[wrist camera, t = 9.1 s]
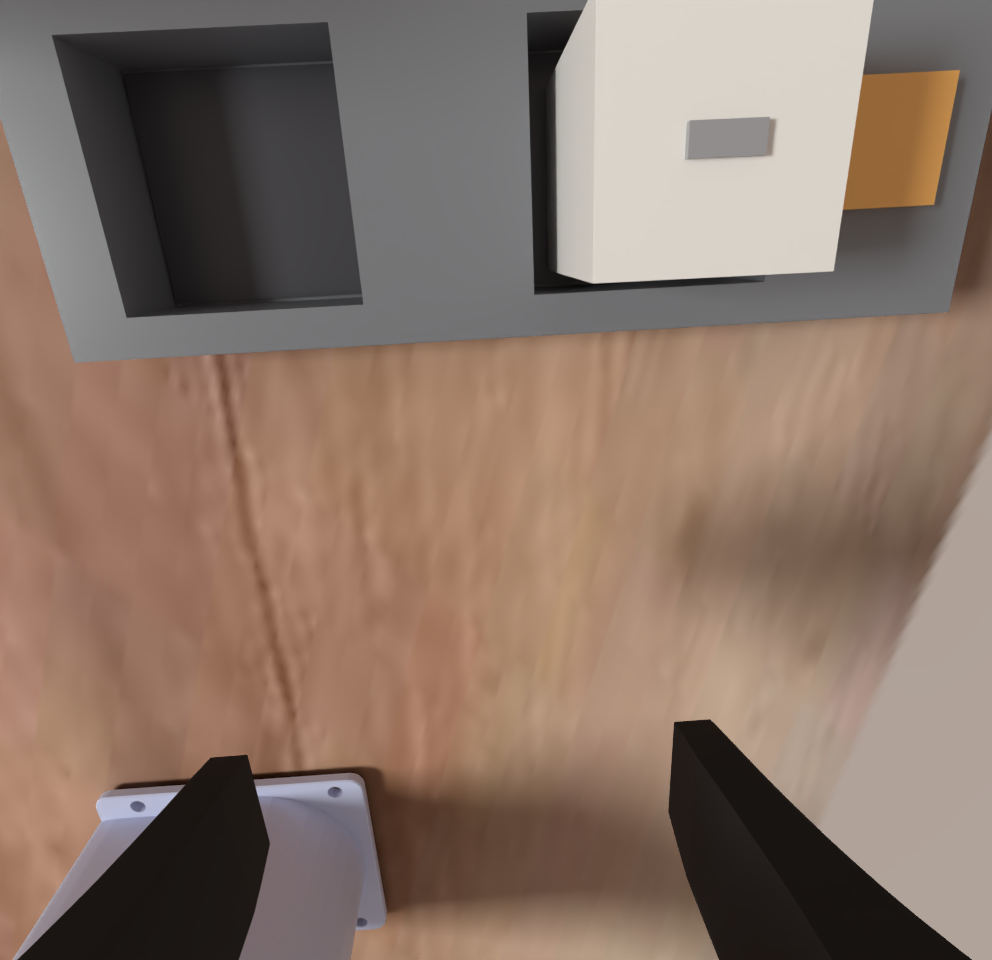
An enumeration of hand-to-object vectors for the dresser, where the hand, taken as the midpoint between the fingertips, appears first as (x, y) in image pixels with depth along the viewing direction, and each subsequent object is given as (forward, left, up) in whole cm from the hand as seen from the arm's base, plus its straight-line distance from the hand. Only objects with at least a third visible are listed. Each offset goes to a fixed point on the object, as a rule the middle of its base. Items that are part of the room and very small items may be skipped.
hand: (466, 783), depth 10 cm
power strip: (+2, +10, -9) cm, 14 cm away
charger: (+5, +10, -9) cm, 14 cm away
